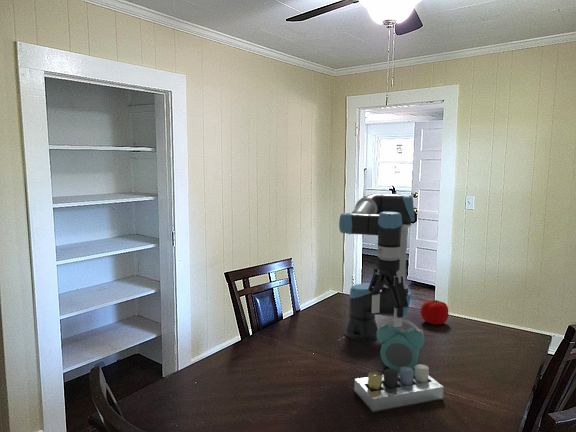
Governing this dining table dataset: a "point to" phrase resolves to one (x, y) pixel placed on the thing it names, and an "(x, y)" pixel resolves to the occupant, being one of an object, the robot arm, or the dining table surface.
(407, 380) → the blue ovoid
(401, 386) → the white socket board
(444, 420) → the dining table surface
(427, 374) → the white egg
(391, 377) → the black rounded cylinder
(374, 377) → the gold rounded cylinder
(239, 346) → the dining table surface
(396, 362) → the alarm clock
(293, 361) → the dining table surface
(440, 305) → the tomato
